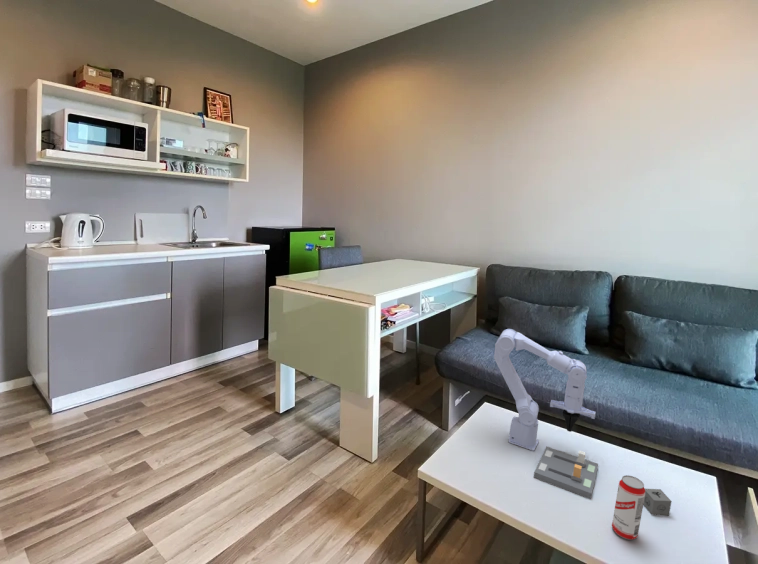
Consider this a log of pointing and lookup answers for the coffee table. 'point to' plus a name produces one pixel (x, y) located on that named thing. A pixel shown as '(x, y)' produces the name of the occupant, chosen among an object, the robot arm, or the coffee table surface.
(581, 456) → the white lever
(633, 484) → the beer can
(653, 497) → the dice cube
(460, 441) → the coffee table surface
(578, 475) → the orange lever
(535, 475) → the slider lever panel
